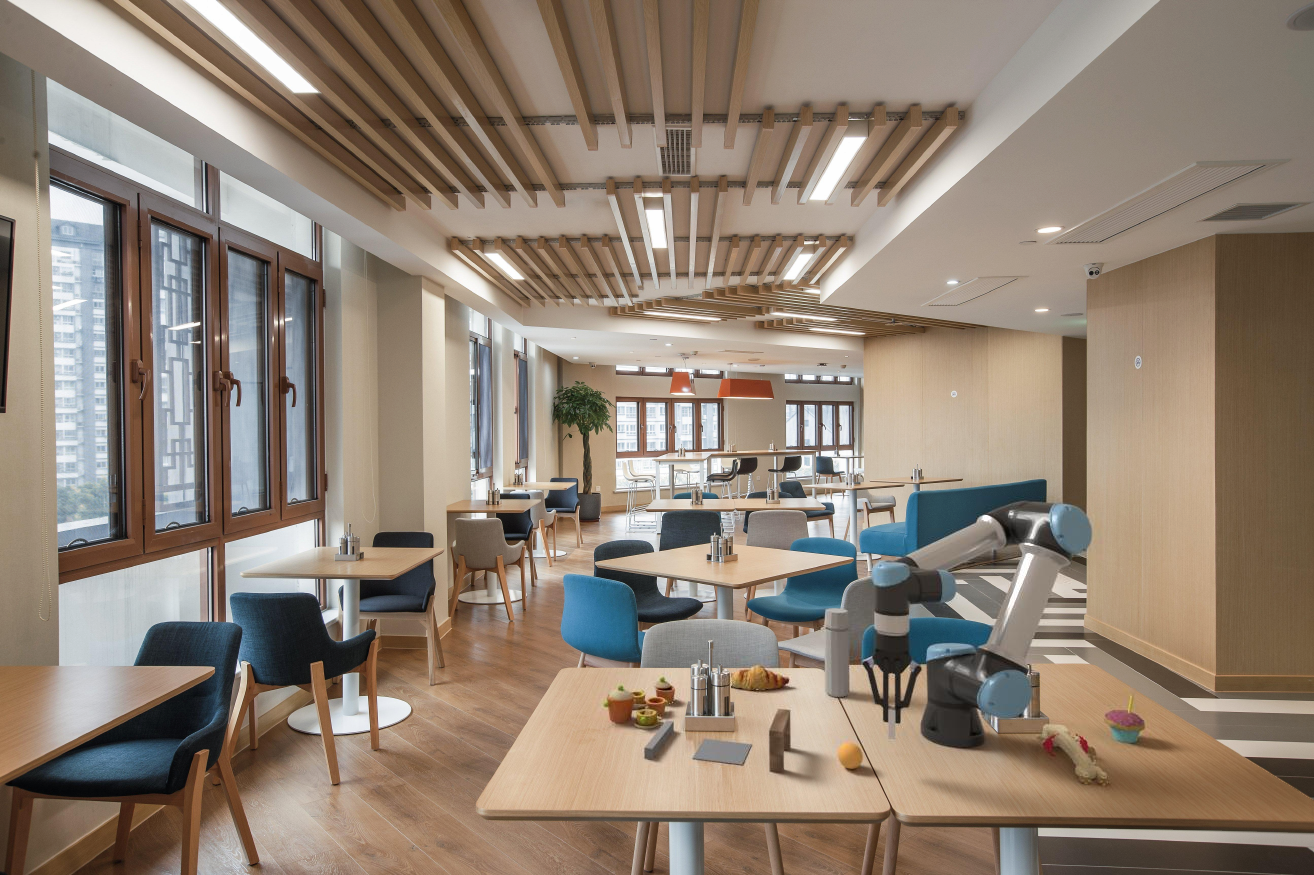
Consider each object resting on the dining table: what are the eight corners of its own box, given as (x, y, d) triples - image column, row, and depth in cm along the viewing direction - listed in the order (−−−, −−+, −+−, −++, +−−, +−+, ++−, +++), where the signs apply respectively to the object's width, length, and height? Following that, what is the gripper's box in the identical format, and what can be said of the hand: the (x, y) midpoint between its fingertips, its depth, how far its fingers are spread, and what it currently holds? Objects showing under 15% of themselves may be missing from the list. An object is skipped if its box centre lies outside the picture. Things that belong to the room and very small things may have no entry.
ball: (863, 764, 164) (862, 740, 164) (862, 774, 159) (862, 749, 159) (838, 761, 165) (838, 737, 166) (837, 771, 160) (837, 746, 160)
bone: (1120, 792, 152) (1071, 737, 177) (1120, 753, 152) (1071, 703, 177) (1070, 789, 154) (1028, 735, 179) (1070, 750, 153) (1029, 701, 178)
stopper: (673, 731, 184) (673, 721, 184) (652, 759, 167) (652, 748, 167) (666, 730, 185) (666, 720, 185) (644, 758, 168) (644, 747, 168)
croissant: (721, 699, 218) (720, 680, 215) (721, 675, 227) (720, 656, 224) (790, 700, 216) (790, 681, 212) (787, 676, 225) (787, 657, 221)
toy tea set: (654, 733, 184) (654, 696, 184) (599, 727, 188) (599, 690, 189) (682, 700, 208) (682, 667, 209) (633, 695, 213) (633, 663, 213)
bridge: (790, 747, 173) (790, 709, 174) (782, 773, 160) (782, 731, 160) (778, 746, 174) (778, 708, 174) (769, 771, 160) (769, 730, 161)
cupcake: (1141, 736, 179) (1140, 688, 179) (1148, 749, 171) (1147, 699, 172) (1102, 731, 183) (1100, 684, 183) (1107, 743, 175) (1106, 694, 175)
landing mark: (751, 745, 175) (751, 744, 175) (742, 765, 164) (742, 764, 164) (704, 739, 179) (704, 738, 179) (692, 758, 167) (692, 758, 167)
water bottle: (851, 699, 208) (850, 613, 208) (824, 697, 209) (823, 612, 210) (849, 689, 217) (848, 607, 217) (823, 687, 218) (822, 606, 219)
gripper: (921, 630, 162) (921, 734, 161) (862, 625, 166) (862, 727, 165) (923, 638, 154) (923, 747, 154) (861, 633, 158) (861, 739, 158)
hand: (891, 736), depth 159 cm, fingers closed
